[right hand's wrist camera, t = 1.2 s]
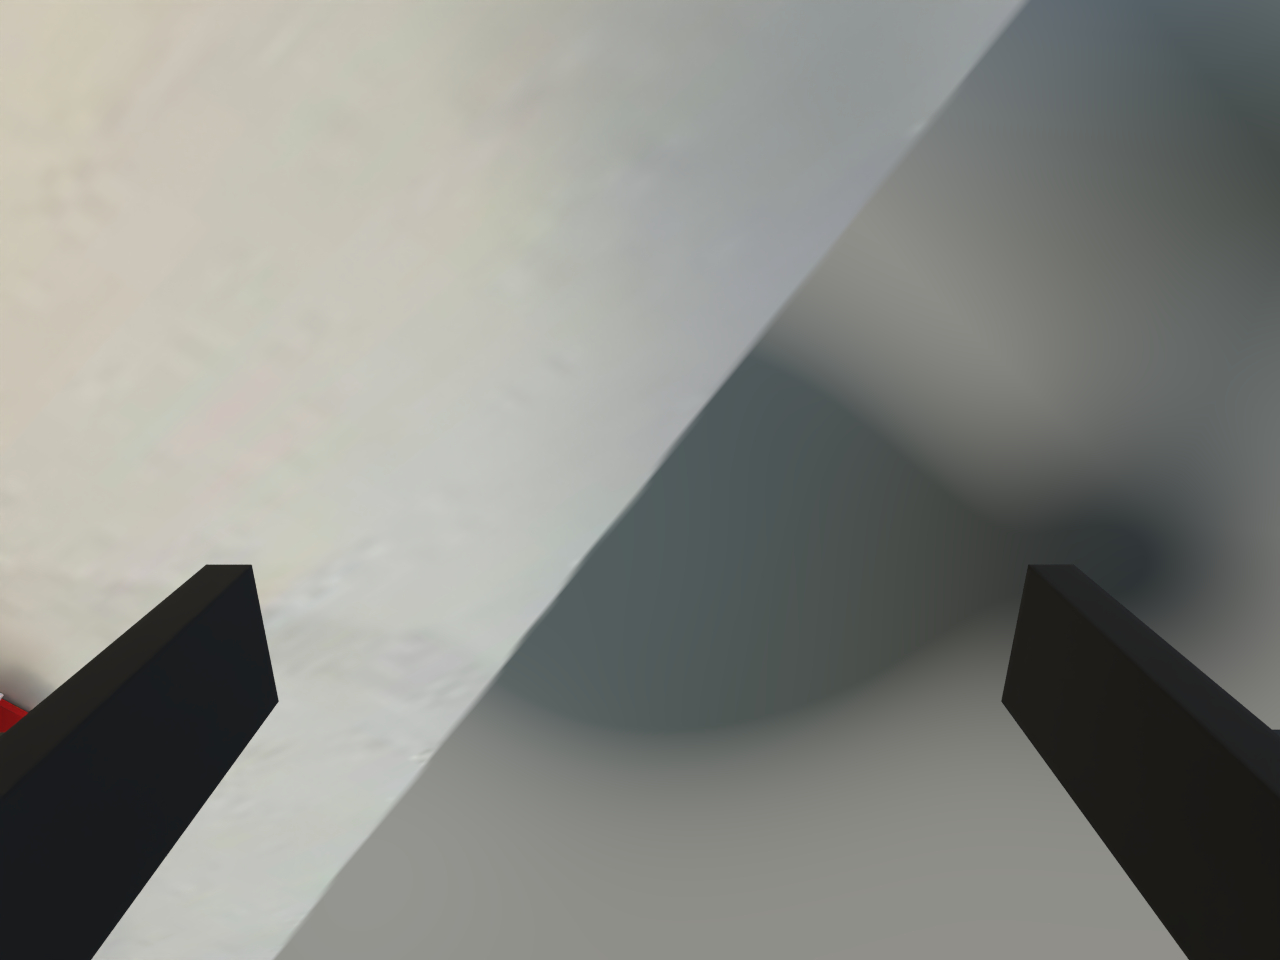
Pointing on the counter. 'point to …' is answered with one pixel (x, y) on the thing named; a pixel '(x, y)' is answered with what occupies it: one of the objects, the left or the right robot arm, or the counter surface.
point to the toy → (9, 714)
